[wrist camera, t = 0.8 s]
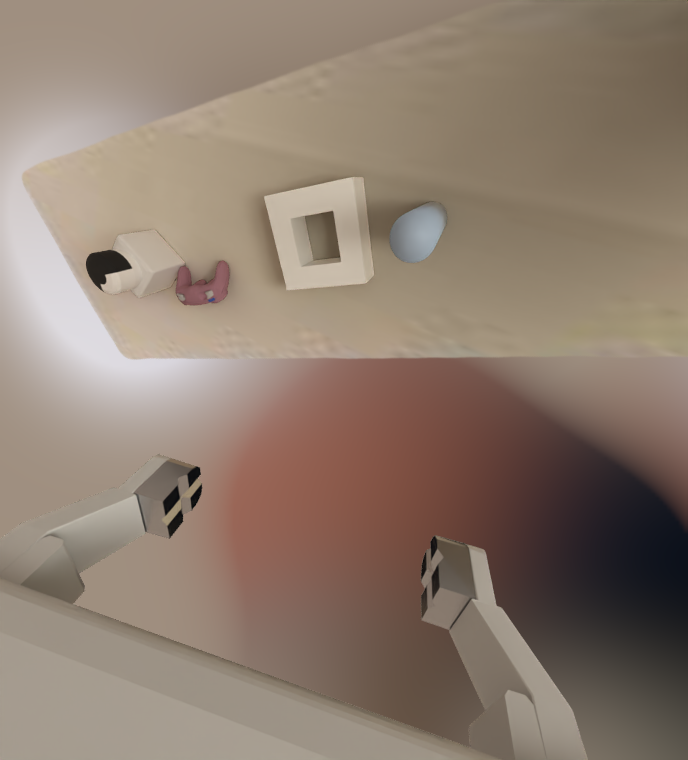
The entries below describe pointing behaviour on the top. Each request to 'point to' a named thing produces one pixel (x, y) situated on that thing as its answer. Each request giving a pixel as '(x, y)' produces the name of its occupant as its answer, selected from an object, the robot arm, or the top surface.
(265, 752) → the robot arm
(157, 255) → the medicine bottle
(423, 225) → the peg
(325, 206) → the socket block
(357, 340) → the top surface
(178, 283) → the video game controller
